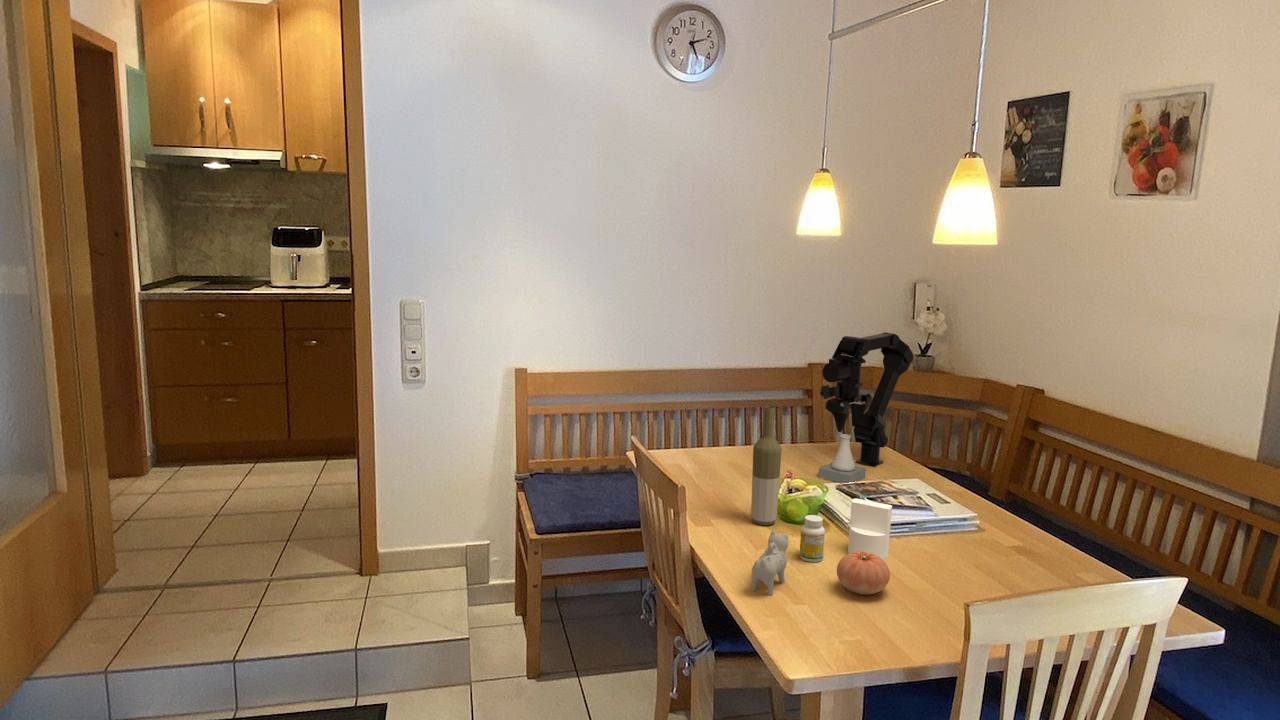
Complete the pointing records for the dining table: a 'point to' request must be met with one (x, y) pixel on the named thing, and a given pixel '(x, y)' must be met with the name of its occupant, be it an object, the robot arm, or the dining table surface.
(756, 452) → the bottle
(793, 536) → the dining table surface
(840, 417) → the robot arm
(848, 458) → the flask
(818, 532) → the supplement bottle
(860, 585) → the pumpkin
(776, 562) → the dog figurine
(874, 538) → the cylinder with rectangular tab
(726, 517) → the dining table surface
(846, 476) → the dock
